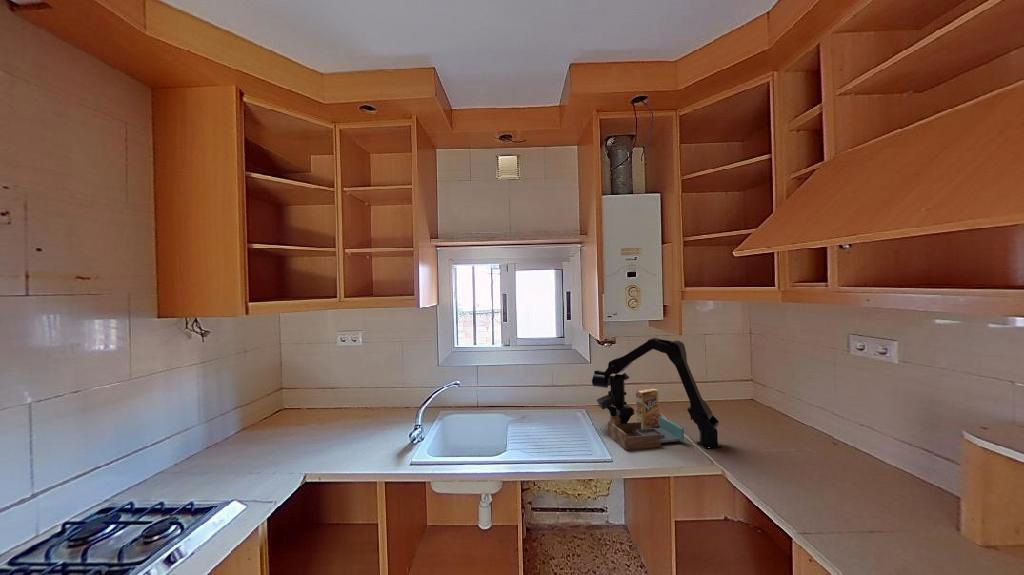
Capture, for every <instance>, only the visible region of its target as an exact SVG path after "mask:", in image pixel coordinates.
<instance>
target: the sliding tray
mask: <svg viewBox="0 0 1024 575" xmlns="http://www.w3.org/2000/svg"><path fill="white" fill-rule="evenodd" d="M684 430H685V428H684V427H682V426H680V425H678V424H676V423H675V422H674V421H671V420H669V419H668V418H666V417H664V416H663V415H662V416H661V415H660V416H659V427H650V428H645V429H635V430H631V433H632V434H634V435H635V436H644V435H655V434H660V438H661V443H662V444H663V443H664V444H665V443H673V442H675V443H676V442H680V443H684V442H685V431H684Z"/></svg>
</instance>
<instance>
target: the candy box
mask: <svg viewBox="0 0 1024 575" xmlns="http://www.w3.org/2000/svg"><path fill="white" fill-rule="evenodd" d="M635 400H636V402H635V405H636V408H635V409H636V422H641V427H642V429H645V428H656V427H660V422H659V417H660V415H659V414H660V413H659V412H660V411H659V410H660V409H659V389H656V388H645V389H641V390H636V391H635Z"/></svg>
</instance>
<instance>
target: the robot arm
mask: <svg viewBox="0 0 1024 575" xmlns="http://www.w3.org/2000/svg"><path fill="white" fill-rule="evenodd" d="M653 350H655V351H657V352H660V353H664V354H666V356H667V357H668V359H669V361H670V362H671V363H672V364H673V365H674V366H675V368H676V371H677V373H678V377H679V378H680V380H681V383H682V385H683V388H684V391H685V393H686V395H687V398H688V400H689V403H690V406H689V407H687V409H686V410H687V412H688V414H689V416H690V420H692V421H693V423H694V424H696V425H697V428H698V431H699V441H696V442H697V443H698V444H697V443H696V444H697V445H699V444H700V445H699V446H701V445H702V446H704V447H706V448H708V447H718V448H722V447H721V446H722V445H721V444H719V441H718V438H719V437H718V430H717V429H718V426H719V424H720V421H719V420H718V419H717V418H716V417H715V415H713V411H712V410H711V408H710V406H709V404H707V402H706V401H705V400H704V399H703V398H702V396H701V393H700V391H699V389H698V385H697V383H696V380H695V379H694V376H693V374H692V372H691V369H690V366H689V364H688V358H687V352H686V347H685V344H684V342H682V341H680V340H673V341H672V340H667V339H660V338H657V337H652V338H649V339H648V340H647V341H646V342H644V343H642V344H641V345H639V346H637V347H636V348H634V349H632V350H631V351H630V352H628V353H627V354H624V355H623V356H619V357H617V358H614V359H612V360H610V361H609V362H608V365H607V368H606V369H605V371H602V370H597V369H596V370H594V371H593V376H592V379H591V384H592V386H593V387H596V388H603V389H604V388H605V389H607V388H609V387H610V390H608V392H607V393H608V394H606V395H604V396H602V397H599V398H597V399H596V402H597V404H598V407H599V408H601V409H602V410H605V409H607V410H608V412H609V417H610V416H618V417H619V419H620V424H622V423H629V421H630V419H631V417H632V416H634V415H635V409H634V408H633V407H631V406H629V405H628V404H627V403H628V402H627V401H626V397H625V396H627V392H626V390H625V389H626V388H625V381H627V380H629V379H630V376H629V375H628V374H627V373H626V372H624V371H625V370H626V369H627V368H628V367H629V366H630V365H631V364H632V363H633V362H634V361H636V360H638V359H639V358H641V357H643V356H645V355H646V354H647V353H649V352H651V351H653ZM621 372H624V373H622V374H621ZM702 446H701V447H702ZM704 447H703V448H704ZM706 448H705V449H706ZM708 449H709V448H708Z"/></svg>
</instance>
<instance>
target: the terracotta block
mask: <svg viewBox="0 0 1024 575" xmlns="http://www.w3.org/2000/svg"><path fill="white" fill-rule="evenodd" d="M609 421H610V422H611V423H613V424H620V419H619V417H618V416H610V415H609Z"/></svg>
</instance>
